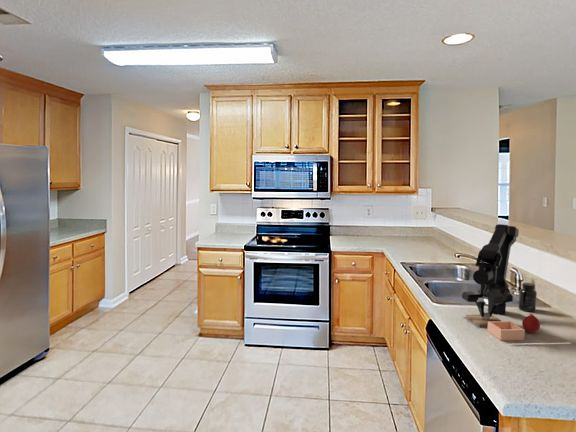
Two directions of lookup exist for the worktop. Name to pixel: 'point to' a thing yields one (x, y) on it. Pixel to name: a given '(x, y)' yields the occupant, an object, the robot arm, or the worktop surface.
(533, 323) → the onion
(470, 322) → the rubber mat
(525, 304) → the supplement bottle
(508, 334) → the terracotta dish
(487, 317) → the walnut lid
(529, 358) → the worktop surface
